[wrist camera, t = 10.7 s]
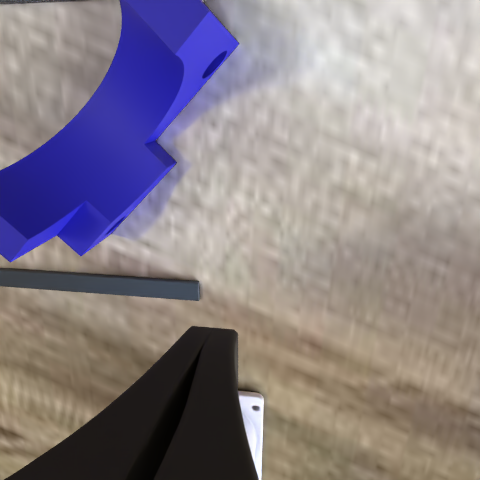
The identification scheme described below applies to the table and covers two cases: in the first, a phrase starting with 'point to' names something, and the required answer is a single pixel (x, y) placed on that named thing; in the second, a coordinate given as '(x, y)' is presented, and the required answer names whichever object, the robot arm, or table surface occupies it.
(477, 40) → the table surface
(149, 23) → the blue cradle bracket
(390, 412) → the table surface
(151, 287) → the frame
